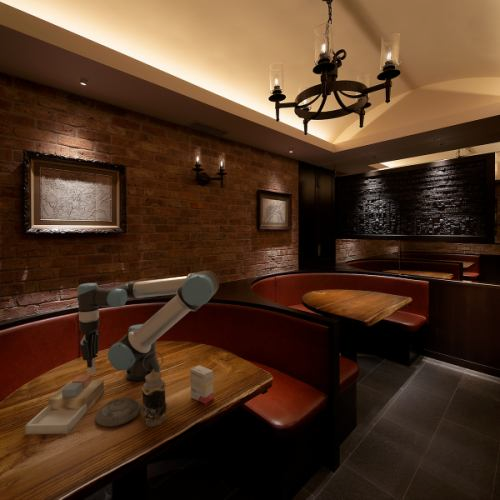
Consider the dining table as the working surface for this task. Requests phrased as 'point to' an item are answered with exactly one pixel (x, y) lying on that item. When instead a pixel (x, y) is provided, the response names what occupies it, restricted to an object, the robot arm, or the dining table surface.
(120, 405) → the flying saucer
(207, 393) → the ink box
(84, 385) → the salmon orange square block
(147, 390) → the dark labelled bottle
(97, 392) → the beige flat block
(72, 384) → the slate gray square block
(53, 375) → the dining table surface
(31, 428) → the tray
